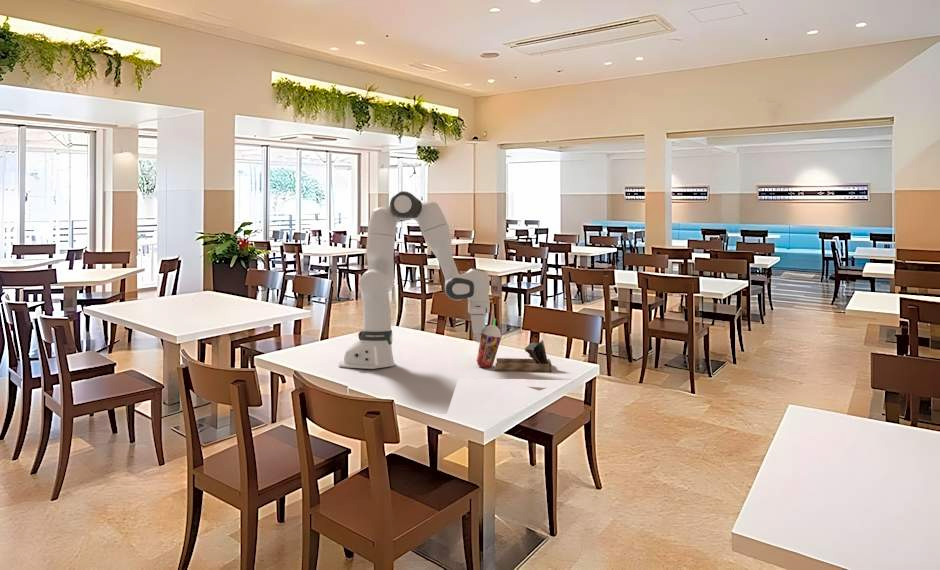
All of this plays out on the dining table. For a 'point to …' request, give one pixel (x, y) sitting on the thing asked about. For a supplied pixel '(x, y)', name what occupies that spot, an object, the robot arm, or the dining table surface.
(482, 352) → the smoothie
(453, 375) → the dining table surface
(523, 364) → the cradle
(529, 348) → the bell
